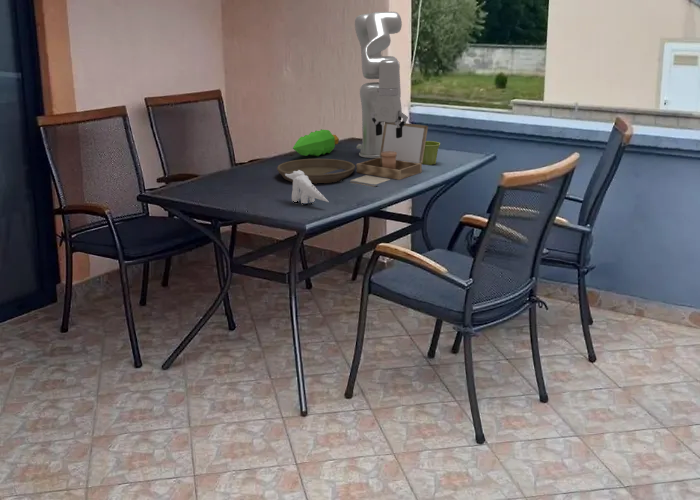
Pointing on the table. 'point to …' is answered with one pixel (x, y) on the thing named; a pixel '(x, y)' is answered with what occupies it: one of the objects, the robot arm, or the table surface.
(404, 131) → the lid
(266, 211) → the table surface
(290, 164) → the plant saucer
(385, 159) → the tan rounded knob
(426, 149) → the plant pot
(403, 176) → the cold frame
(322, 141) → the decorative tree
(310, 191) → the dinosaur statue
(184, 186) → the table surface
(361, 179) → the sandstone tile
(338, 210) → the table surface
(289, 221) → the table surface
